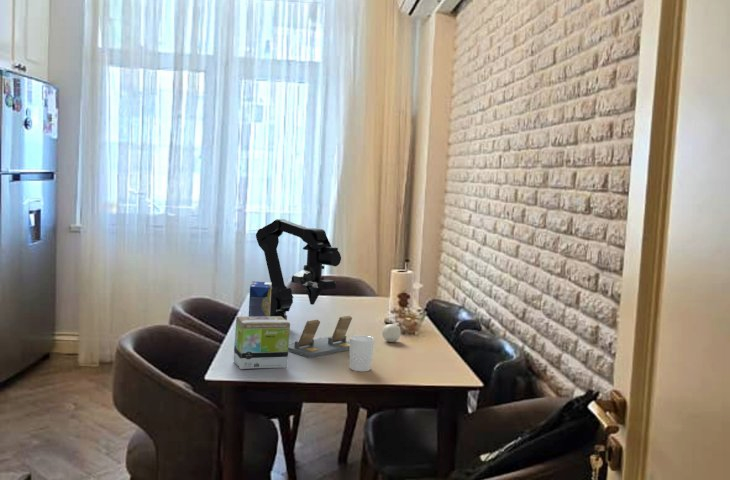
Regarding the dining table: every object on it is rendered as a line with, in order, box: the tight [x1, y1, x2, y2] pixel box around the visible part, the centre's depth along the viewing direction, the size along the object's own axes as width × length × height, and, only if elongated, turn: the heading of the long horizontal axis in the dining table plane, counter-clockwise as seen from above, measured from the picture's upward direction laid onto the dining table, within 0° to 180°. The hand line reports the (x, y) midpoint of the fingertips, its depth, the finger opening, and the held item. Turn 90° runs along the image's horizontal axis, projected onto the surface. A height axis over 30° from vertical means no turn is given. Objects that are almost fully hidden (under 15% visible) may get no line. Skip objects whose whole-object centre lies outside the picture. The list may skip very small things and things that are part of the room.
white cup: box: [348, 334, 375, 372], centre depth 225 cm, size 8×8×10 cm
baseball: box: [381, 323, 402, 343], centre depth 263 cm, size 7×7×7 cm
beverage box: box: [248, 280, 272, 317], centre depth 242 cm, size 7×11×22 cm, turn 6°
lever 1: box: [298, 319, 321, 347], centre depth 241 cm, size 1×5×10 cm, turn 137°
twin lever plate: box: [288, 335, 350, 359], centre depth 248 cm, size 14×24×3 cm, turn 137°
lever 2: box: [331, 315, 353, 342], centre depth 250 cm, size 1×5×10 cm, turn 137°
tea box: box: [233, 316, 291, 370], centre depth 222 cm, size 15×10×15 cm
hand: (312, 304), depth 263 cm, fingers closed
